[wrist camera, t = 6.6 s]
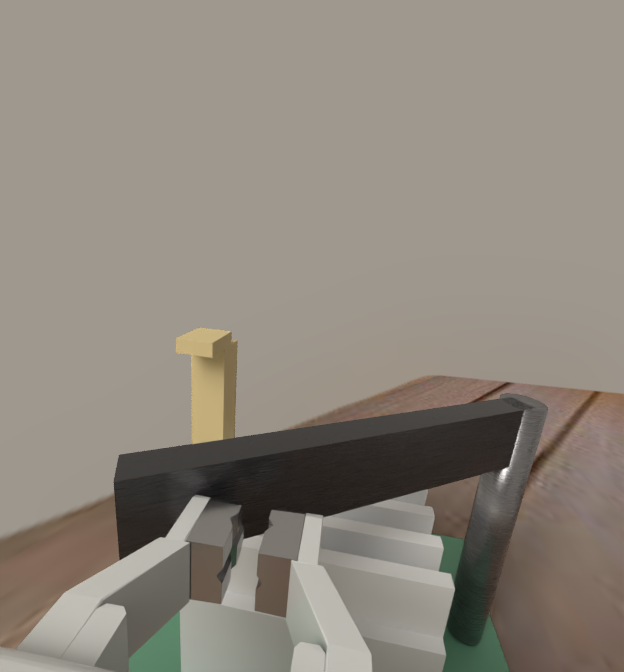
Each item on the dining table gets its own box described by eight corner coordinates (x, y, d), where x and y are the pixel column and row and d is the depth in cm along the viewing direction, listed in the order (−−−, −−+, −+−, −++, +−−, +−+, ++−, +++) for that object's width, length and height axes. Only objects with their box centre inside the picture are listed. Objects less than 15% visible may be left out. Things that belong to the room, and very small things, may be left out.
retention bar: (462, 604, 21) (517, 391, 17) (489, 637, 19) (557, 409, 15) (141, 757, 14) (120, 447, 10) (138, 835, 12) (111, 491, 8)
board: (459, 551, 26) (510, 345, 22) (644, 1111, 9) (1040, 669, 5) (199, 502, 29) (199, 309, 25) (-39, 866, 12) (-177, 437, 7)
